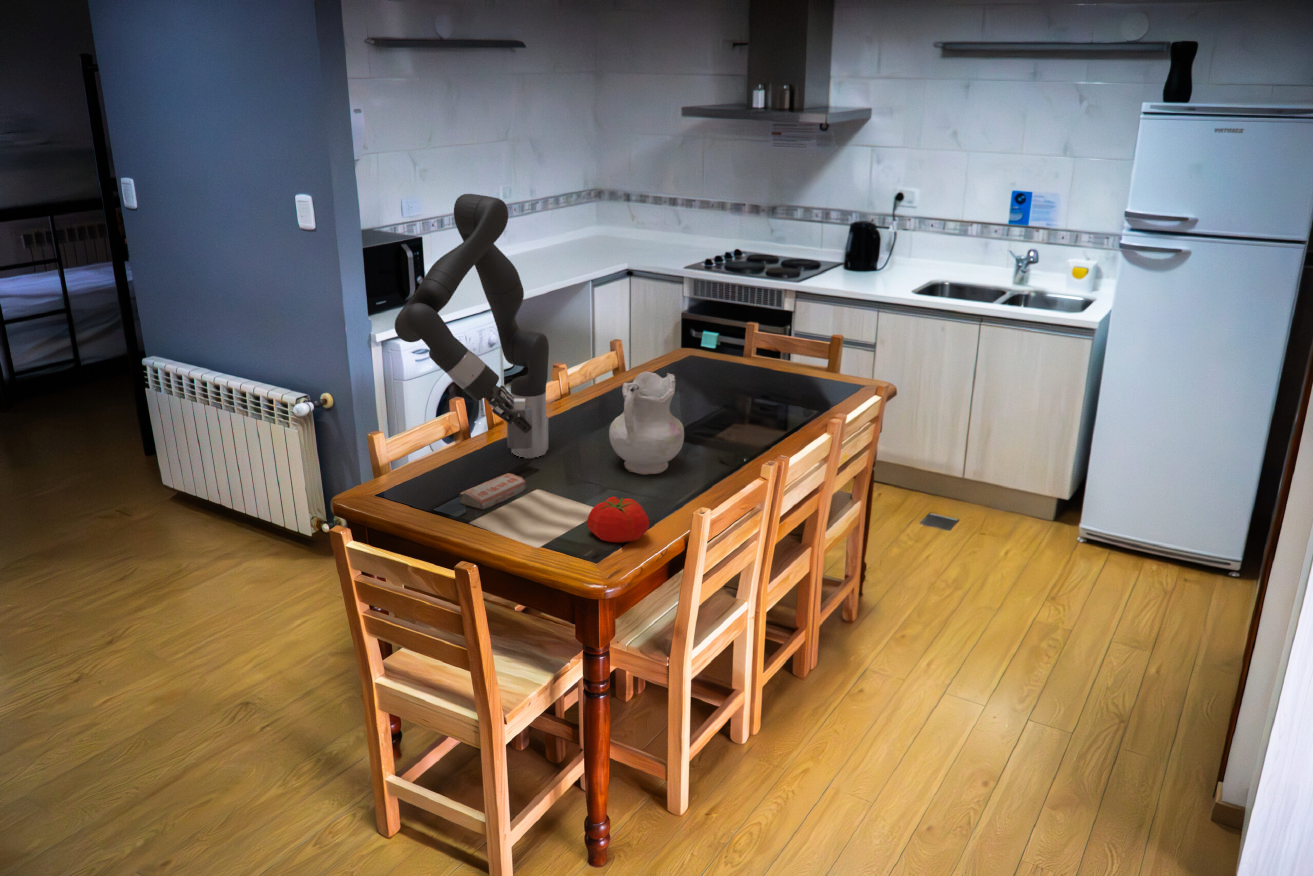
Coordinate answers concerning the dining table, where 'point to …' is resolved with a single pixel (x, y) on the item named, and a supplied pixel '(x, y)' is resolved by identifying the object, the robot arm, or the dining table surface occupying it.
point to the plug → (514, 433)
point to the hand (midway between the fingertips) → (529, 427)
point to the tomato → (618, 520)
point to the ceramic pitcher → (647, 425)
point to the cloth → (535, 518)
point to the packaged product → (493, 491)
